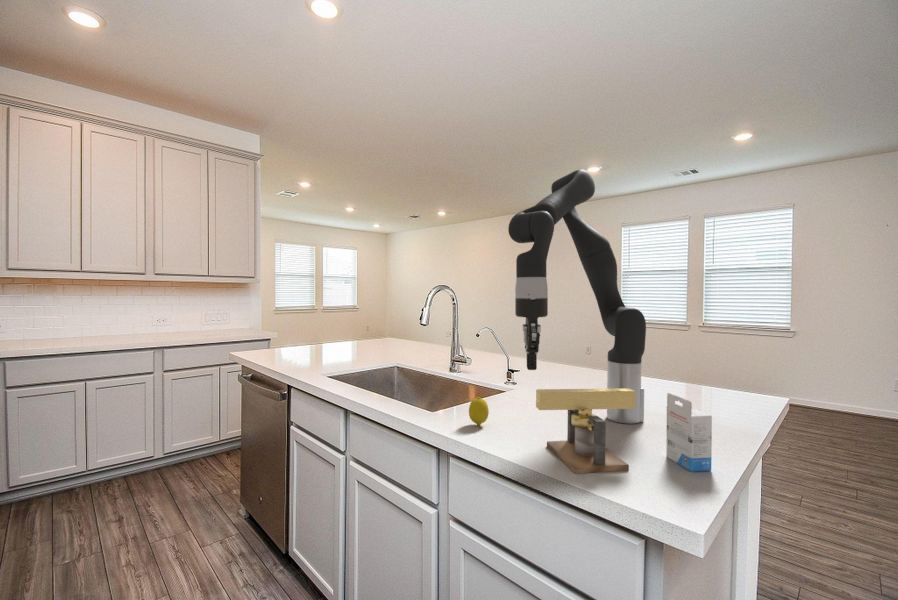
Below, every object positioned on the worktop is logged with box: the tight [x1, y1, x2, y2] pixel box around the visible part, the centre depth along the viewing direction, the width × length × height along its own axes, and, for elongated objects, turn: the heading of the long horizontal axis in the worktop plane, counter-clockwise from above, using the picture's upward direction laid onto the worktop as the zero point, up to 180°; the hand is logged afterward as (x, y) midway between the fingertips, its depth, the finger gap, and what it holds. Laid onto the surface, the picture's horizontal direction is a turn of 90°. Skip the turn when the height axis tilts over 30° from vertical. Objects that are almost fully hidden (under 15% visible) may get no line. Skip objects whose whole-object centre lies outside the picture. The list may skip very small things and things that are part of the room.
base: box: [546, 410, 630, 475], centre depth 91 cm, size 12×15×10 cm
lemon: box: [468, 396, 490, 426], centre depth 113 cm, size 6×6×8 cm
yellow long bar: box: [535, 388, 636, 431], centre depth 91 cm, size 10×22×8 cm, turn 94°
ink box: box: [665, 392, 713, 472], centre depth 88 cm, size 9×5×15 cm, turn 5°
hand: (531, 369), depth 96 cm, fingers closed
